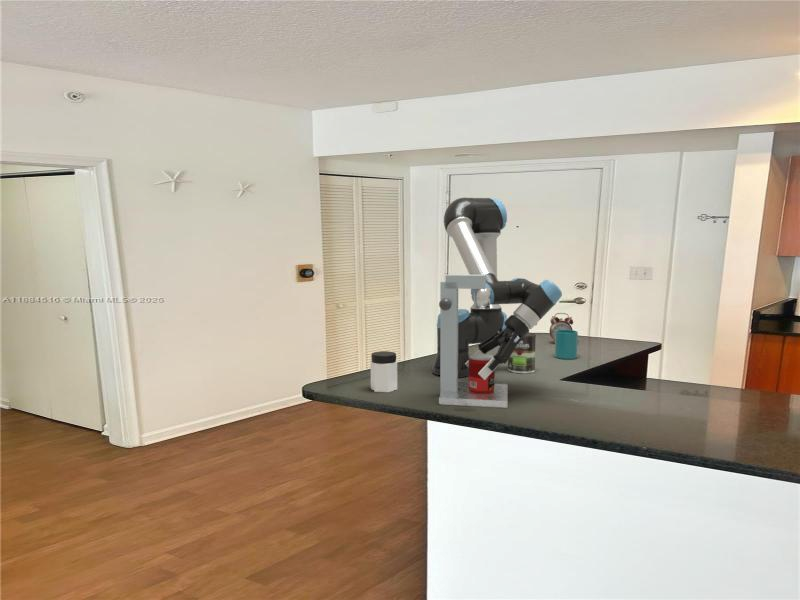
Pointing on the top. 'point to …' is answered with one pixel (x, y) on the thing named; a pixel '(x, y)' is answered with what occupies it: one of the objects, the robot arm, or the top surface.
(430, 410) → the top surface
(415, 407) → the top surface
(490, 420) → the top surface
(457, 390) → the press
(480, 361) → the canned food
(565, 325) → the alarm clock
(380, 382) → the jar
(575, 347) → the cup
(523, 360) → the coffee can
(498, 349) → the robot arm
